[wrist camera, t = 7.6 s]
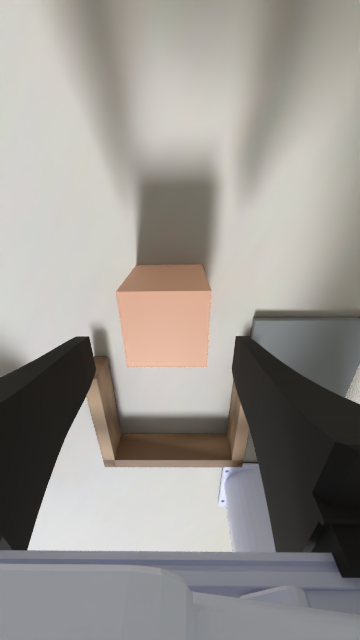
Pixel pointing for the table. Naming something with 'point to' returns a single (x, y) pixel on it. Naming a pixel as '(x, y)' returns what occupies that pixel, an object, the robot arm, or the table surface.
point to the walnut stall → (161, 435)
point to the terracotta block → (165, 316)
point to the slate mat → (314, 347)
